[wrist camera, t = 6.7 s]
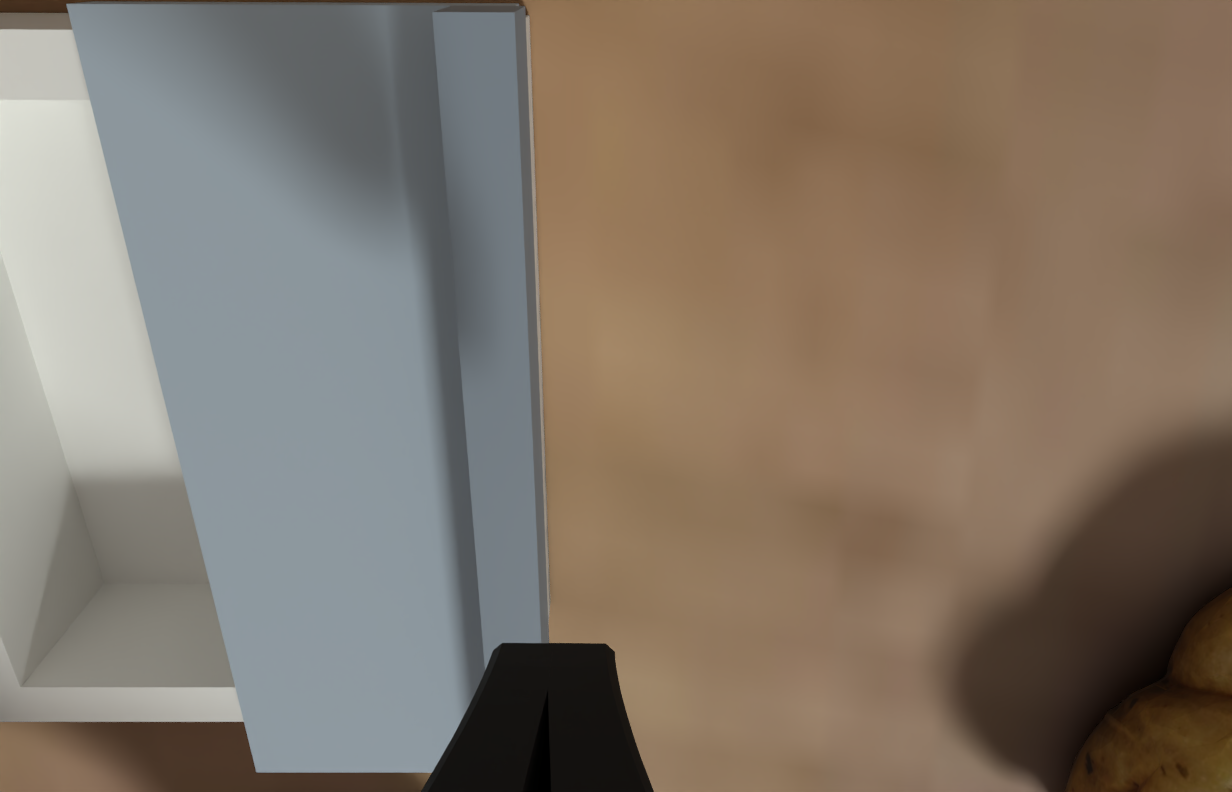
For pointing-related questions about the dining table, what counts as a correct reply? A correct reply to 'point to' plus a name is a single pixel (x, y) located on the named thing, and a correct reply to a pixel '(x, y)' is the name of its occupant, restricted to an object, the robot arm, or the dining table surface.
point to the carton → (94, 431)
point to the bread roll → (1170, 720)
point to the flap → (340, 346)
